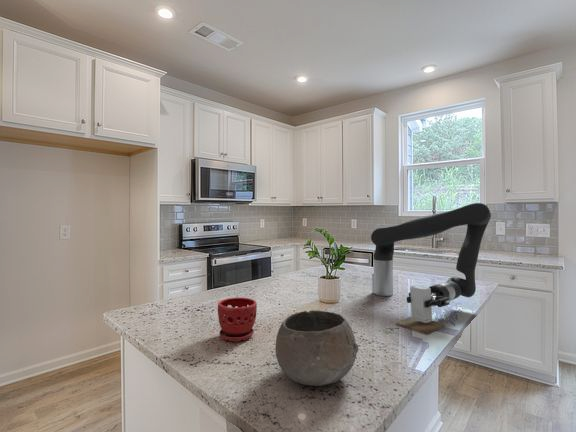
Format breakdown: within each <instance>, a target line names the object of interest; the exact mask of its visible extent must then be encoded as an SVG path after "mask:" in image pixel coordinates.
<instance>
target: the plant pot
mask: <svg viewBox="0 0 576 432" xmlns="http://www.w3.org/2000/svg"><path fill="white" fill-rule="evenodd" d="M229 306H231V307H229ZM257 307H258V303H257V301H256V300H255V299H252V298H248V297H231V298H224V299H222V300H220V301H219V302H218V303H217V316H218V318H217V319H218V323H219V326H220V330H219V333H218V334H219V336H220V338H222V339H223V340H224V339H225V340H224V341H226V340H229V341H228V342H242V341H241V340H243V341H246V340H249V339H250V338H251V337H252V336H253V335H254V331H255V330H254V328H253V327H254V325H255V323H256V318H257V310H258V309H257ZM245 339H246V340H245Z"/></svg>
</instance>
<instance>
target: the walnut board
mask: <svg viewBox="0 0 576 432" xmlns="http://www.w3.org/2000/svg"><path fill="white" fill-rule="evenodd" d="M395 323H396V324H395V325H397V326H400V327H402V328H405V329H409V330H412V331H415V332H418V333H420V334H424V335H429V334H431V332H432V333H434V332H436V331H438V330H440V329H443V328H445V327H446V323H442V322H440V321H435V320H432V321H431V322H427V323H424V322H421V321H418V320H416V319H413V318H412V316H409V317H407V318H403V319H402V320H398V321H396V322H395ZM444 326H445V327H444ZM442 327H443V328H442ZM437 329H438V330H437ZM435 330H436V331H435ZM433 331H434V332H433Z"/></svg>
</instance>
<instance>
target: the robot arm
mask: <svg viewBox="0 0 576 432" xmlns="http://www.w3.org/2000/svg"><path fill="white" fill-rule="evenodd" d="M491 218H492V213H491V211H490V208H489V207H488V206H487V205H486V204H485V203H482V202H472V203H468V204H466V205H463V206H460V207H458V208H456V209H453V210H452V209H451V210H449V211H442V212H438V213H434V214H429V215H425V216H422V217H417V218H414V219H410V220H409V221H406V222H403V223H400V224H397V225H393V226H387V227H386V226H382V227H377V228H376V229H374V230H373V231H372V233H371V235H370V240H371V242H372V243H373V245H375V250H374V253H373V273H372V274H371V281H372V283H371V285H372V286H371V287H372V289H371V290H372V293H373V294H374V295H377V296H381V297H389V296H393V295H394V254H395V253H394V252H395V243H397V242H400V241H406V240H415V239H421V238H427V237H431V236H436V235H438V234H441V233H443V232H445V231H447V230H449V229H452V228H453V229H454V228H455V227H459V226H465V225H466V227H467V229H466V232H465V237H464V240H463V243H462V245H461V247H460V251H459V254H458V255H457V256H458V257H457V261H456V266H455V269H456V271H457V272H459V273H461V274H462V275H463V274H464V277H465V278H462V277H458V276H451V277H449V278H448V280H447V281H446V282H441V283H440V282H439V283H437V284H434V285H431V286H429V287H428V288H431V299H430V300H427V301H425V307H426V308H428V307H431V306H432V307H438V308H443V307H446V306H449V305H450V302H451V301H453V300H456V299H458V298H459V297H460V296H462V297H464V298H471V297H473V296H475V293H476V287H477V285H476V267H477V263H478V259H479V252H480V248H481V244H482V240H483V236H484V234H485V231H486V229H487V227H488V224H489V222H490V220H491ZM406 303H408V304H411V294H410V292H408V296H407V297H406Z"/></svg>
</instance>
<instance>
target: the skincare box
mask: <svg viewBox="0 0 576 432" xmlns="http://www.w3.org/2000/svg"><path fill="white" fill-rule="evenodd" d="M409 289H410V292H409V293H410V294H411V303H410V309H411V310H410V312H411V313H410V314H411V317H412V318H413V319H416V320H418V321H421V322H424V323H427V322H431V321H433V314H432V313H433V312H432V310H433V309H432V307H433V306H431V307H428V308H426V307H425V301H427V300H430V299H431V288H429V287H428V286H424V285H419V284H416V285H415V284H414V285H411V286H410V287H409Z"/></svg>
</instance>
